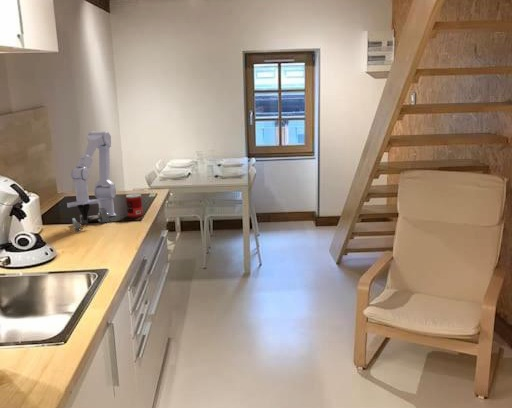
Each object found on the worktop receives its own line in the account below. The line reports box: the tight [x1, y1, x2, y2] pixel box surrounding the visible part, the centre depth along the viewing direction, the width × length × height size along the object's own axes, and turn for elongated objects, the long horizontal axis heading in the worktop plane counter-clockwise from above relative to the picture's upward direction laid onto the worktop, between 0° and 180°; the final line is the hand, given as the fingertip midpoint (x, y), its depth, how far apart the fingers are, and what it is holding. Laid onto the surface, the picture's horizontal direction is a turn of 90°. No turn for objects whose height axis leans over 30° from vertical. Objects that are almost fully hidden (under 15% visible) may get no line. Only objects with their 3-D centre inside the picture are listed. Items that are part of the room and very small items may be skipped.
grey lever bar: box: [71, 217, 81, 230], centre depth 253 cm, size 14×2×3 cm, turn 27°
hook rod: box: [79, 213, 111, 226], centre depth 261 cm, size 4×14×4 cm, turn 117°
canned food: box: [125, 193, 144, 218], centre depth 271 cm, size 8×8×11 cm
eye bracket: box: [97, 207, 111, 224], centre depth 262 cm, size 6×5×6 cm
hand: (85, 219), depth 254 cm, fingers closed
